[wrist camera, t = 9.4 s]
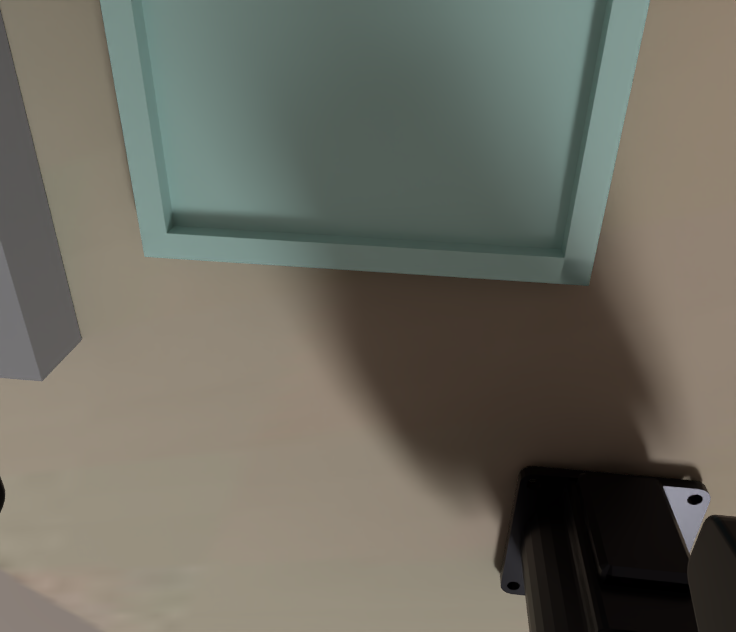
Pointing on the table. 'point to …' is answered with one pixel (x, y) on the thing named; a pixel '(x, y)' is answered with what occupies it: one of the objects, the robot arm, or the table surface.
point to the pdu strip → (28, 249)
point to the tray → (375, 130)
